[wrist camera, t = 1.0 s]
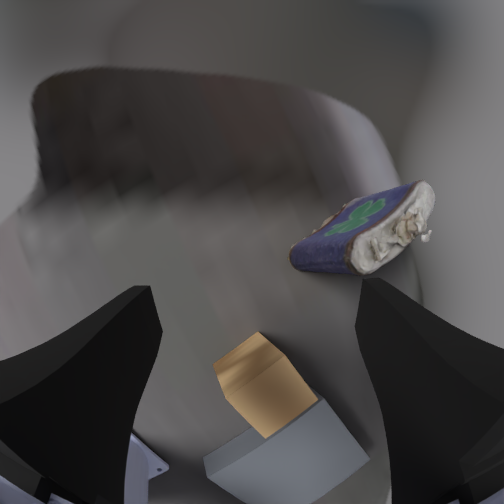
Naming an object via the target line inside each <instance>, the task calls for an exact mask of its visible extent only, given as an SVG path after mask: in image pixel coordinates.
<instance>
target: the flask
mask: <svg viewBox="0 0 504 504" xmlns="http://www.w3.org/2000/svg"><path fill="white" fill-rule="evenodd" d="M434 206H435V195H434V192H433V189H432V188H431V186H430V185H429V184H428V183H427V182H425V181H424V180H419V181H415V182H412V183H410V184H406V185H403V186H399V187H396V188H393V189H390V190H386V191H383V192H379V193H376V194H372V195H368V196H364V197H361V198H356V199H353V200H352V201H351V202H349V203H347V204H344V206H343V209H342V210H341V211H339V212H338V213H337V214H335V215H332V216H331V217H329V218H327V220H325V221H324V223H323V225H322V226H321V228H320V229H318V230H314V231H313V232H312V234H311V235H310V236H309V237H305V238H304V237H303V239H302V240H300V241H298V242H297V243H296V244H294V245H292V246H291V249H290V252H289V256H288V258H287V259H288V260H289V261H290V263H291V264H292V266H293V268H295V269H296V270H298V271H313V272H330V273H339V274H341V273H345V274H353V275H359V276H362V275H369V274H371V273H373V272H374V271H376V270H378V269H379V268H380V267H382V266H384V265H385V264H387V263H388V262H389V261H391V260H392V259H394V258H395V257H396V256H398V255H399V254H400V253H401V252H402V251H403V250H404V249H405V248H407V247H408V246H409V244H410V243H411V242H412V241H413V240H414V239H415V238H416V236H417V235H420V234H422V233H425V230H426V228H427V223H426V221H427V219H428V218H429V216H430V215H431V212H432V210H433V208H434ZM431 233H432V231H431V230H429V232H428V234H429V235H428V234H426V235H422V236H421V237H422V238H421V241H422V242H427V241H429V238H430V235H431Z"/></svg>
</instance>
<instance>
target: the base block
mask: <svg viewBox="0 0 504 504" xmlns="http://www.w3.org/2000/svg"><path fill="white" fill-rule="evenodd" d="M308 387H309V388H310V389H311V391H312V392H313V393H314V394H315V396H316V397H317V398H318V400H317V401H316V402H315V403H313V404H312V405H311V406H310V407H308V408H307V409H306V410H304V411H303V412H302V413H301V414H299V415H298V416H297V417H295V418H294V419H293V420H291V421H290V422H289V423H287V424H286V425H284V426H283V427H282V428H280V429H279V430H277V431H276V432H275V433H273V434H272V435H270V436H269V437H267V438H266V439H265V438H264V437H263V436H262V435H261V434H260V433H259V432H258V431H257V430H256V429H255V428H254V427H253V426H252V427H251V428H249V429H248V430H246V431H245V432H243V433H242V434H240V435H239V436H237V437H235V438H234V439H232V440H231V441H229V442H228V443H226V444H224V445H223V446H221V447H219V448H218V449H216V450H214V451H213V452H211V453H209V454H208V455H206V456H204V457H203V461H204V466H205V470H206V475H207V478H209V479H210V480H211V481H213V482H214V483H216V484H217V485H218V486H220V487H221V488H223V489H224V490H226V491H227V492H229V493H230V494H232V495H233V496H235V497H236V498H238V499H240V500H241V501H243V502H244V503H246V504H311V503H312V502H314V501H316V500H317V499H319V498H320V497H322V496H323V495H324V494H326V493H327V492H329V491H330V490H332V489H333V488H334V487H336V486H337V485H339V484H340V483H341V482H343V481H344V480H345V479H346V478H348V477H349V476H350V475H352V474H353V473H354V472H355V471H357V470H358V469H359V468H360V467H362V466H363V465H364V464H365V463H366V462H368V461H369V460H370V458H369V457H368V455H367V454H366V453H365V451H364V450H363V449H362V448H361V446H360V445H359V444H358V442H357V441H356V440H355V438H354V437H353V436H352V435H351V433H350V432H349V431H348V429H347V428H346V427H345V425H344V424H343V423H342V421H341V420H340V419H339V417H338V416H337V415H336V413H335V412H334V411H333V409H332V408H331V407H330V405H329V404H328V403H327V401H326V400H325V399H324V398H323V397H322V396H321V395H320V394H319V393H317V392H316V391H315V390H314V389H313V388H312V387H311V386H310V385H308Z"/></svg>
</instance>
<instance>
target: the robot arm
mask: <svg viewBox="0 0 504 504" xmlns="http://www.w3.org/2000/svg"><path fill="white" fill-rule="evenodd" d="M355 330H356V334H357V339H358V343H359V347H360V351H361V354H362V357H363V359H364V362H365V365H366V368H367V370H368V373H369V376H370V378H371V381H372V384H373V387H374V390H375V392H376V395H377V398H378V401H379V404H380V408H381V411H382V416H383V421H384V426H385V431H386V437H387V444H388V451H389V459H390V470H391V486H392V504H504V349H502V348H500V347H497V346H495V345H492V344H490V343H488V342H485V341H483V340H481V339H478V338H476V337H474V336H472V335H470V334H468V333H466V332H464V331H462V330H460V329H459V328H457V327H455V326H453V325H451V324H449V323H448V322H446V321H445V320H443V319H441V318H440V317H438V316H437V315H435V314H433V313H432V312H430V311H429V310H427V309H426V308H424V307H423V306H421V305H420V304H418V303H417V302H415V301H414V300H412V299H411V298H409V297H408V296H407V295H405V294H404V293H402V292H401V291H399V290H398V289H396V288H395V287H393V286H392V285H390V284H389V283H387V282H386V281H384V280H382V279H380V278H371V279H363V282H362V288H361V295H360V301H359V307H358V312H357V318H356V323H355ZM162 333H163V331H162V327H161V324H160V320H159V317H158V313H157V310H156V306H155V303H154V299H153V295H152V291H151V287H150V286H133V287H131V288H129V289H128V290H126V291H124V292H123V293H121V294H120V295H118V296H117V297H115V298H114V299H113V300H111V301H110V302H108V303H107V304H105V305H104V306H102V307H101V308H100V309H98V310H97V311H95V312H94V313H92V314H91V315H89V316H88V317H86V318H85V319H83V320H82V321H80V322H79V323H77V324H76V325H74V326H73V327H71V328H70V329H68V330H66V331H65V332H63V333H61V334H60V335H58V336H56V337H54V338H52V339H51V340H49V341H47V342H45V343H43V344H41V345H39V346H37V347H34V348H32V349H30V350H28V351H25V352H23V353H21V354H19V355H16V356H13V357H11V358H8V359H5V360H2V361H0V504H148V480H149V479H151V478H153V477H155V476H157V475H159V474H161V473H163V472H165V471H167V470H169V465H168V464H167V463H166V462H165V461H164V460H162V459H161V458H160V457H159V456H158V455H156V454H155V453H154V452H153V451H152V450H150V449H149V448H148V447H147V446H146V445H145V444H144V443H143V442H141V441H140V440H139V439H138V438H137V437H136V436H135V435H134V434H133V433H132V428H133V423H134V419H135V414H136V411H137V408H138V405H139V402H140V399H141V397H142V394H143V391H144V389H145V386H146V383H147V381H148V378H149V376H150V373H151V370H152V368H153V365H154V362H155V360H156V357H157V354H158V350H159V346H160V342H161V337H162ZM158 468H161V469H158Z"/></svg>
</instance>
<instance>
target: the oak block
mask: <svg viewBox="0 0 504 504" xmlns="http://www.w3.org/2000/svg"><path fill="white" fill-rule="evenodd" d="M213 367H214V370H215V372H216V375H217V377H218V380H219V383H220V385H221V388H222V390H223V393H224V395H225V398H226V399H227V400H228V401H229V402H230V404H231V405H232V406H233V407H234V408H235V409H236V410H237V411H238V412H239V413H240V414H241V415H242V416H243V417H244V418H245V419H246V420H247V421H248V422H249V423H250V424H251V425H252V426H253V427H254V428H255V429H256V430H257V431H258V432H259V433H260V434H261V435H262V436H263V437H264V438H265V439H266V438H267V437H269V436H270V435H272V434H273V433H275V432H276V431H277V430H279V429H280V428H282V427H283V426H284V425H286V424H287V423H289V422H290V421H291V420H293V419H294V418H295V417H297V416H298V415H299V414H301V413H302V412H303V411H304V410H306V409H307V408H308V407H310V406H311V405H312V404H313V403H315V402H316V401H317V400H318V398H317V397H316V396H315V394H314V393H313V392H312V391H311V389H310V388H309V387H308V385H307V384H306V383H305V381H304V380H303V379H302V377H301V376H300V375H299V373H298V372H297V371H296V369H295V368H294V367H293V365H292V364H291V362H290V361H289V360H288V358H287V357H286V356H285V355H284V354H283V353H282V352H281V351H280V350H279V349H277V348H276V347H275V346H274V345H273V344H272V343H271V342H269V341H268V340H267V339H266V338H265V337H264V336H263V335H261V334H260V333H259V332H257V333H255V334H254V335H253V336H251V337H250V338H248V339H247V340H246V341H244V342H243V343H242V344H240V345H239V346H238V347H236V348H235V349H233V350H232V351H231V352H229V353H228V354H227V355H225V356H224V357H222V358H221V359H219V360H218V361H217V362H215V363H214V364H213Z"/></svg>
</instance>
